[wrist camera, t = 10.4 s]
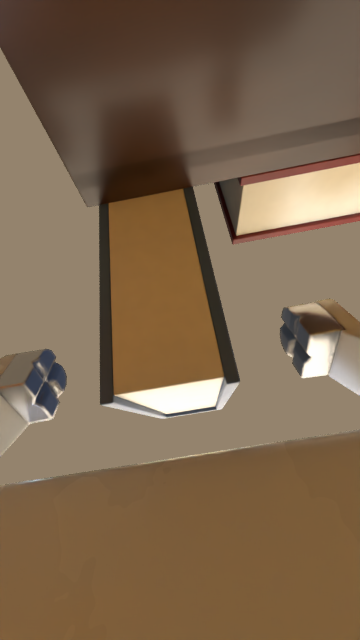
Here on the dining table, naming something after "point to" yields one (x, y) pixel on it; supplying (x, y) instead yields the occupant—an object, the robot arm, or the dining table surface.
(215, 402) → the slate book
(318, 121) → the bookcase
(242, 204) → the dictionary
